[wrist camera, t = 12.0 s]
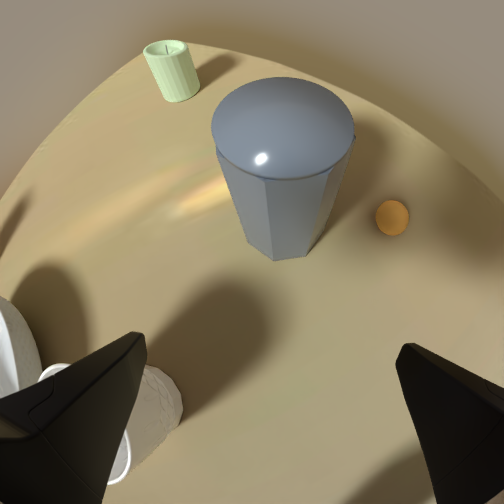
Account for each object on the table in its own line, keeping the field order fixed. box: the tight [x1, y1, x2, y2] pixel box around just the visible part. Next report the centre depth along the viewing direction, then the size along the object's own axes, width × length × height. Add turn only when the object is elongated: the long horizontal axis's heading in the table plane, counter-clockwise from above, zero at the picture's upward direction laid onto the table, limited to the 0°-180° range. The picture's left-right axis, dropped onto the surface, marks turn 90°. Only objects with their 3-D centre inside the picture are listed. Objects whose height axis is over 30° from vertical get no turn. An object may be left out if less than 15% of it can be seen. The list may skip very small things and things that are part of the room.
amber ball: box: [376, 200, 409, 235], centre depth 21 cm, size 3×3×3 cm
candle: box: [143, 40, 200, 102], centre depth 26 cm, size 5×5×8 cm
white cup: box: [38, 363, 183, 485], centre depth 15 cm, size 8×8×10 cm
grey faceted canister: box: [211, 77, 356, 261], centre depth 17 cm, size 7×7×12 cm
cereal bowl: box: [0, 296, 43, 398], centre depth 18 cm, size 17×17×7 cm
